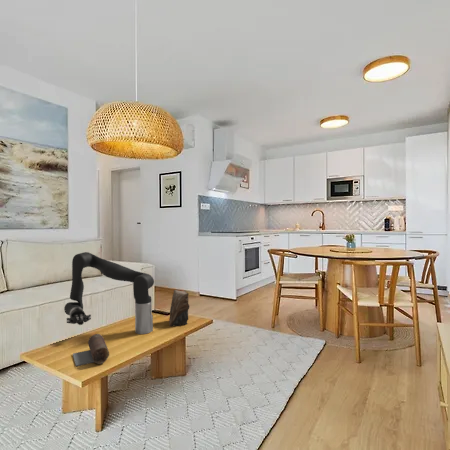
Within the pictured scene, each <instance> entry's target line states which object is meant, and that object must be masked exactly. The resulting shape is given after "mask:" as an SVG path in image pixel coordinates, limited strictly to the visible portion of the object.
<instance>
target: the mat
mask: <svg viewBox="0 0 450 450" xmlns="http://www.w3.org/2000/svg"><path fill="white" fill-rule="evenodd" d="M72 357H73V360H74V361H73V362H74V364H75V367H80V366H85V365H88V364H93V363H95V362H94V361H93V358H92V355H91V351H90V349H89V350H84V351H78V352H73V353H72Z"/></svg>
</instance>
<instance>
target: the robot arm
mask: <svg viewBox="0 0 450 450" xmlns="http://www.w3.org/2000/svg"><path fill="white" fill-rule="evenodd" d="M71 263H72V264H71V269H72V271H71V288H70V295H69V299H70V300H71V301H69V302H66V304H65V305H64V308H63V309H64V313H65V314H66V315H67V316H69V317H67V318H66V324H71V325H72V324H73V325H75V324H77V325H79V326H81V325H84V323H87V322H89V321H90V320H92V314H88V315H87V314H86V313H85V311H84V303H83V294H84V289H85V288H84V287H85V286H84V281H83V277H82V275H83V274H82V273H83V270H84V268H93V269H96V270H98V271H99V272H100V273H101V274H102V275H103V276H104V277H106V278H109V279H111V280H115V281H121V282H128V283H129V282H130V283H132V287H133V289H132V290H133V291H132V292H133V298H134V303H135V304H134V308H135V309H134V315H135V318H134V319H135V321H134V323H135V326H134V327H135V329H134V332H135V334H138V335H146V334H149V333H151V332H154V331H153V330H154V327H153V326H154V319H153V318H154V316H153V314H152V312H153V311H152V310H153V309H152V307H153V306H152V303H153V301H152V296H151V295H149V289H151V288H152V287H153V286H154V284H155V279H154V277H153V276H152V275H151V274H149V273H146V272H141V271H136V270H134V269H131V268H129V267H126V266H124V265H121V264H119V263H115V262H114V261H110V260H108V259H103V258H101V257H99V256H97V255H95V254H93V253H92V252H91V253H90V252H89V251H85V252H79V253H76V254H74V256H73V258H72V262H71Z"/></svg>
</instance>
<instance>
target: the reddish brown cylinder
mask: <svg viewBox="0 0 450 450" xmlns="http://www.w3.org/2000/svg"><path fill="white" fill-rule="evenodd" d="M87 342H88V343H87V344H88V348H89V350H90V351H91V355H92V358H93V361H94V363H95V364H99V365H100V364H104V363H105V362H106V361H107V360H108V358H109V357H110V351H109V349H108V346H107V343H106V341H105V338H104V337H103V335H101V334H100V333H95V334H92V335H91V336H90V337H89V339H88V341H87Z"/></svg>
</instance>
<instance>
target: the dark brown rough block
mask: <svg viewBox="0 0 450 450" xmlns="http://www.w3.org/2000/svg"><path fill="white" fill-rule="evenodd" d="M189 295H190V294H189V292H187V291H186V290H184V291H182V290H181V291H180V290H177V289H173V294H172V298H171V303H170V310H169V318H168V319H169V320H168V322H169V325H168V326H169V327H179V326H180V327H181V326H187V325H188V321H189V310H190V304H189Z"/></svg>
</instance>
